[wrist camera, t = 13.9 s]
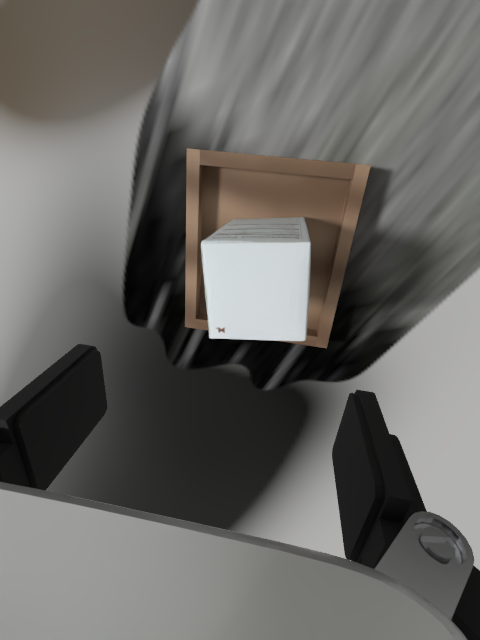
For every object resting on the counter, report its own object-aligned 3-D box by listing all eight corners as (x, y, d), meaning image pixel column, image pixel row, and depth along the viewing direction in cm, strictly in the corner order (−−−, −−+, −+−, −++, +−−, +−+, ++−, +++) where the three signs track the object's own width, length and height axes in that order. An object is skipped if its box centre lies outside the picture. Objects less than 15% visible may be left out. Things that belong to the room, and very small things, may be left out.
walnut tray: (194, 150, 30) (186, 148, 28) (364, 165, 29) (370, 165, 26) (191, 317, 38) (185, 326, 36) (324, 337, 37) (326, 348, 34)
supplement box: (302, 287, 34) (307, 346, 22) (234, 285, 35) (205, 341, 23) (306, 215, 30) (314, 241, 19) (231, 215, 32) (196, 241, 20)
